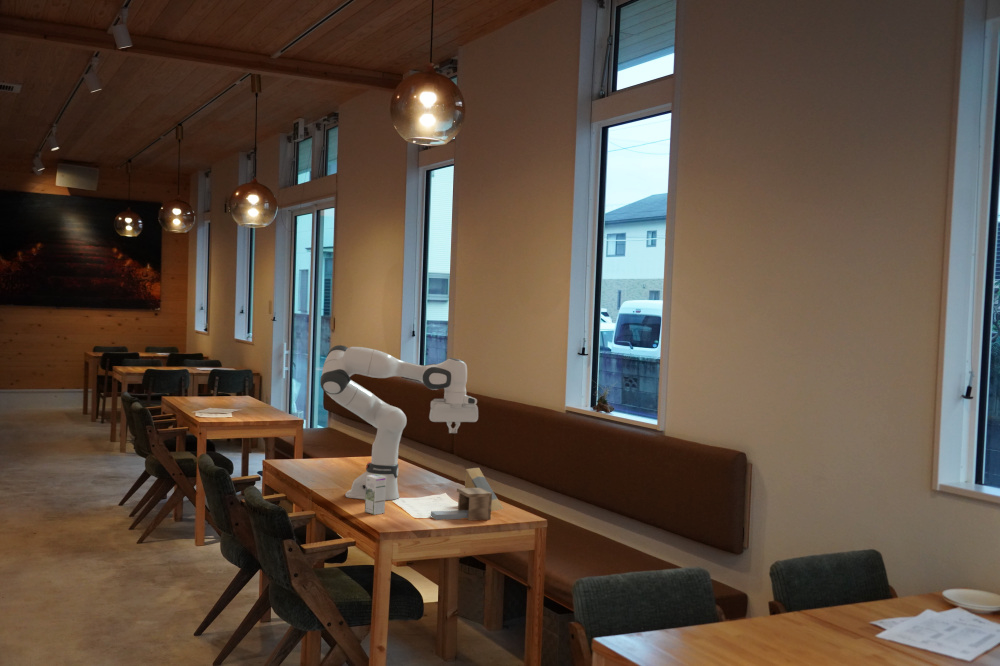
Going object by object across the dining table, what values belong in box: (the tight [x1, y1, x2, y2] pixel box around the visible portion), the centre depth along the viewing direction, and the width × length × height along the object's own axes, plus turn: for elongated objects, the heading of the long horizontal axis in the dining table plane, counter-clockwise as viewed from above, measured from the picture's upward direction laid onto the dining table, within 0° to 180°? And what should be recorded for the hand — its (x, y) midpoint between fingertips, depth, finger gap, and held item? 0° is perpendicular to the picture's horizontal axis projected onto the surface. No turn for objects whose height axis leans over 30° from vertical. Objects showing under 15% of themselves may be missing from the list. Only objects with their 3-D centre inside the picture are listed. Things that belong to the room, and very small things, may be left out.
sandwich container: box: [464, 467, 504, 512], centre depth 360 cm, size 9×15×15 cm, turn 50°
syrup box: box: [364, 474, 386, 516], centre depth 336 cm, size 6×6×14 cm
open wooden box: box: [456, 487, 492, 521], centre depth 340 cm, size 10×11×10 cm
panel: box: [430, 509, 468, 521], centre depth 338 cm, size 20×6×2 cm, turn 114°
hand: (452, 433), depth 349 cm, fingers closed
